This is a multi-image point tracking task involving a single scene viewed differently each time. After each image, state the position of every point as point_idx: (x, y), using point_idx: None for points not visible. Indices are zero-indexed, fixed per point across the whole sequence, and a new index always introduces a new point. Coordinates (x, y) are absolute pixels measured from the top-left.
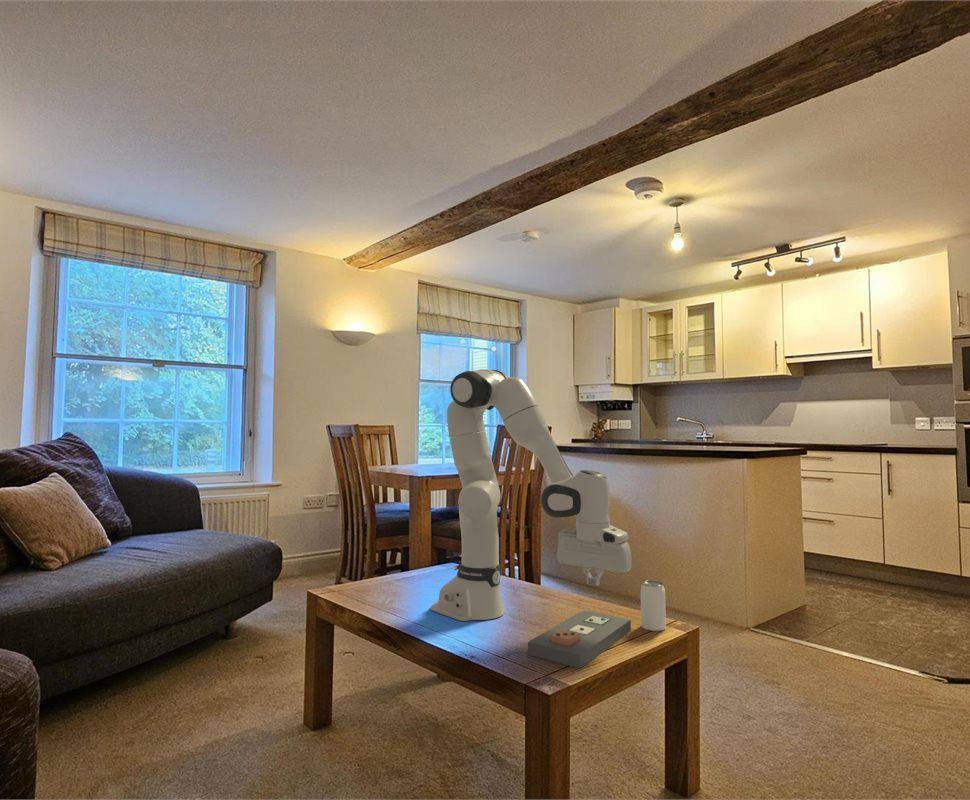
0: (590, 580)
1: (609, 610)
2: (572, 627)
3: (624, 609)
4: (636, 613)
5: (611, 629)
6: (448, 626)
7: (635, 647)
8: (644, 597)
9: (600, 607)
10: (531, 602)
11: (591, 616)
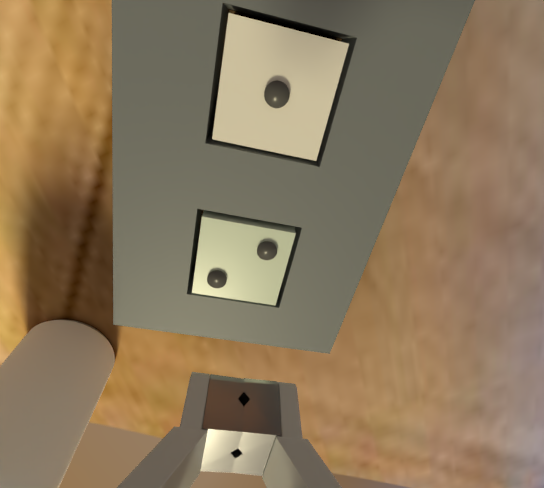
0: (260, 410)
1: None
2: (336, 117)
3: None
4: None
5: (136, 172)
6: None
7: (29, 125)
8: (17, 437)
9: None
10: (522, 408)
11: (277, 295)
